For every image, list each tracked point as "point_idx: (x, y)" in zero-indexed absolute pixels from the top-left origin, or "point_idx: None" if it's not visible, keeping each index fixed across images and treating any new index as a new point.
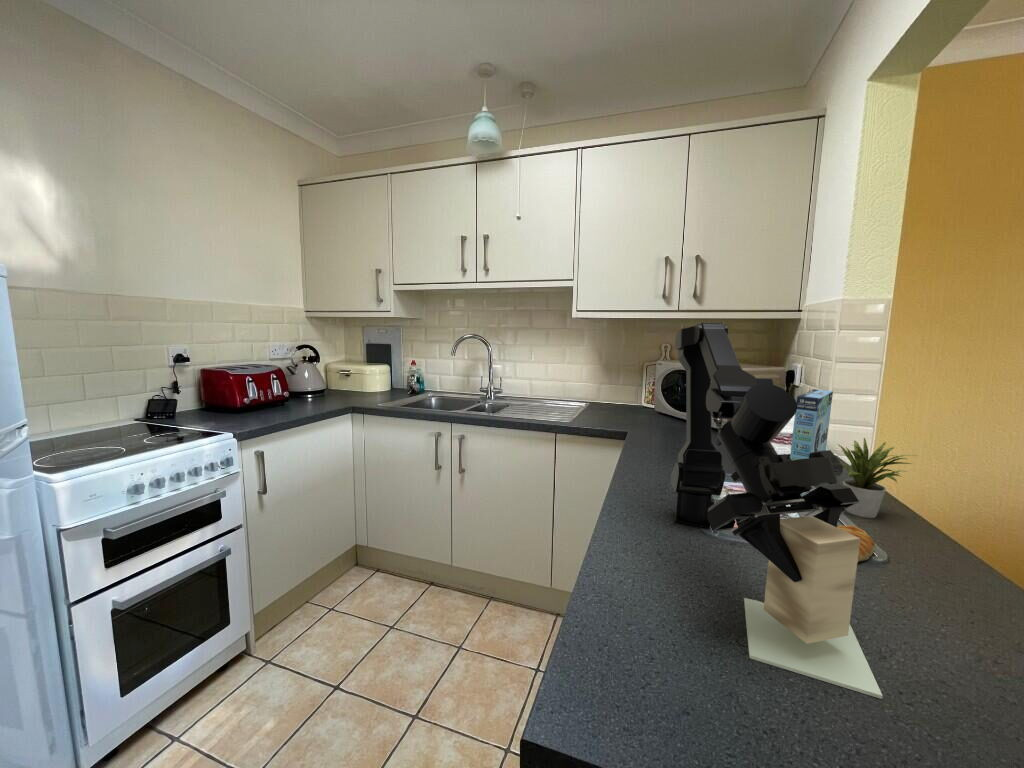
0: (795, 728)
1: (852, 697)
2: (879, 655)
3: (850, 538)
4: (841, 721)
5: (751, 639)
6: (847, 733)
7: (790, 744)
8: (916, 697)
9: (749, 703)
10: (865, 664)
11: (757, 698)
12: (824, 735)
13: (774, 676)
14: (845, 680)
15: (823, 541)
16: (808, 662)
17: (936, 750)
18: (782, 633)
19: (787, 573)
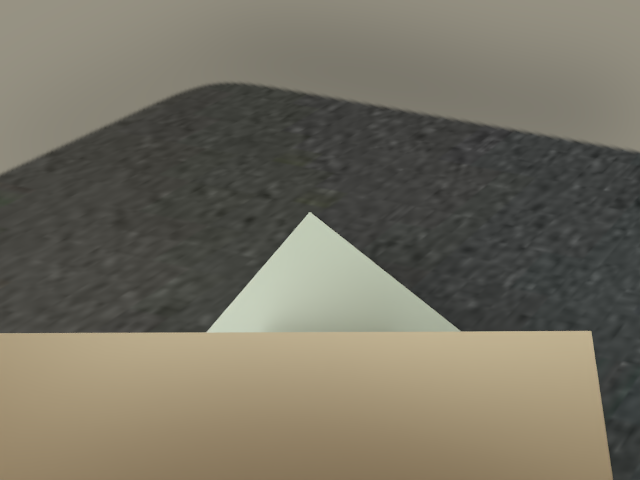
0: (566, 197)
1: (370, 232)
2: (168, 318)
3: (99, 357)
4: (453, 191)
5: None
6: (466, 168)
7: (604, 172)
8: (229, 203)
9: (627, 268)
10: (250, 291)
11: (598, 275)
12: (517, 174)
13: (506, 321)
14: (352, 262)
15: (477, 366)
16: (390, 330)
17: (330, 112)
18: None
19: None
